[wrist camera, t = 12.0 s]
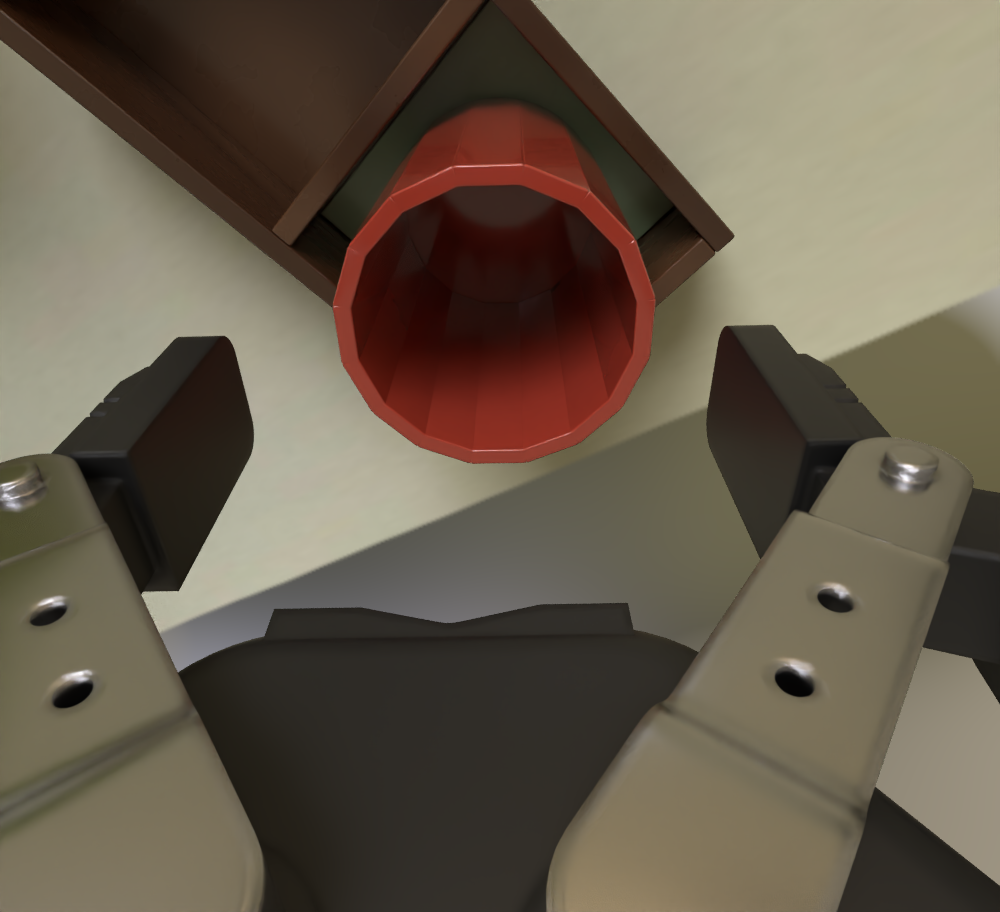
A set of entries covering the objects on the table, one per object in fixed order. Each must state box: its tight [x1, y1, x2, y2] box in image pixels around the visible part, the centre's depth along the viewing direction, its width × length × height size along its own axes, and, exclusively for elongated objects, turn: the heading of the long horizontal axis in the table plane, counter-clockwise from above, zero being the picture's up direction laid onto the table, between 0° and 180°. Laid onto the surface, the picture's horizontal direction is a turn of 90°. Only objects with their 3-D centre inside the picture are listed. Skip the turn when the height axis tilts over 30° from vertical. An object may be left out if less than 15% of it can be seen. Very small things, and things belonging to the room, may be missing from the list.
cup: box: [333, 97, 656, 464], centre depth 17 cm, size 6×6×9 cm
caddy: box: [0, 0, 734, 308], centre depth 18 cm, size 9×17×4 cm, turn 47°
